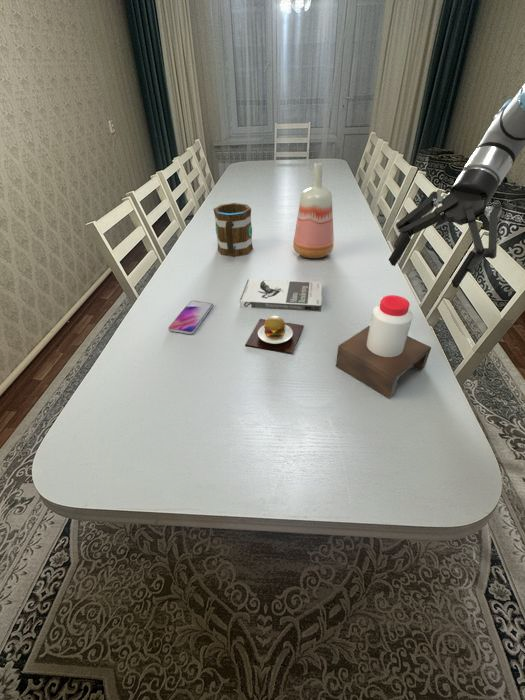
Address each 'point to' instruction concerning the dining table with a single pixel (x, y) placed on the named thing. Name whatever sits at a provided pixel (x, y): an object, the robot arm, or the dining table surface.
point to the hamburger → (275, 335)
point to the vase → (314, 220)
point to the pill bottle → (389, 326)
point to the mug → (233, 229)
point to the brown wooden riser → (379, 362)
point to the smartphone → (190, 317)
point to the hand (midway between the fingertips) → (421, 273)
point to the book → (282, 295)
